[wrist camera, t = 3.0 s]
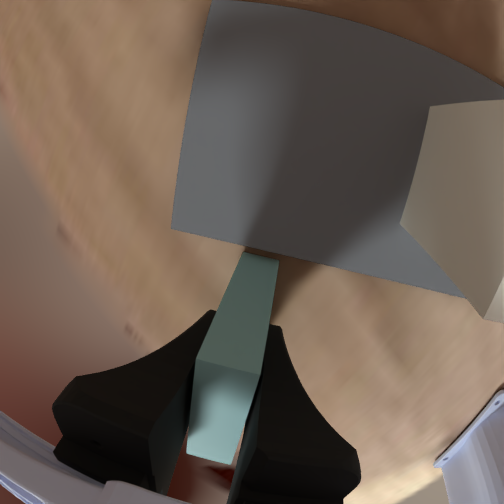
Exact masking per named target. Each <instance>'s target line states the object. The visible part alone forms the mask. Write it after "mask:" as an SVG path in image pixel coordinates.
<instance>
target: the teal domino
mask: <svg viewBox="0 0 504 504" xmlns="http://www.w3.org/2000/svg"><path fill="white" fill-rule="evenodd" d="M278 266H279V260H276V259H272V258H268V257H263V256H259V255H255V254H251V253H246V252H243V253H242V256H241V258H240V260H239V262H238V265H237V267H236V269H235V271H234V274H233V276H232V278H231V280H230V283H229V285H228V287H227V289H226V292H225V294H224V296H223V298H222V301H221V303H220V305H219V307H218V310H217V312H216V314H215V316H214V319H213V321H212V323H211V325H210V328H209V330H208V332H207V335H206V337H205V339H204V341H203V344H202V346H201V348H200V350H199V353H198V355H197V357H196V362H195V371H194V380H193V390H192V399H191V409H190V420H189V431H188V442H187V453H188V454H191V455H194V456H198V457H202V458H205V459H209V460H213V461H217V462H221V463H225V464H230V465H231V462H232V459H233V457H234V454H235V451H236V448H237V445H238V442H239V439H240V436H241V433H242V430H243V427H244V424H245V421H246V418H247V415H248V412H249V409H250V406H251V403H252V399H253V396H254V393H255V390H256V387H257V384H258V381H259V377H260V374H261V368H262V362H263V357H264V351H265V345H266V339H267V334H268V328H269V322H270V316H271V310H272V304H273V298H274V291H275V285H276V279H277V272H278Z"/></svg>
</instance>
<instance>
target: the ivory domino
mask: <svg viewBox="0 0 504 504" xmlns="http://www.w3.org/2000/svg"><path fill="white" fill-rule="evenodd" d="M400 225H401V226H402V227H403V228H404V229H405V230H406V231H407V232H408V233H409V234H410V235H411V236H412V237H413V238H414V239H415V240H416V241H417V242H418V243H419V244H420V245H421V246H422V248H423V249H424V250H425V251H426V252H427V253H428V254H429V255H430V256H431V257H432V258H433V260H434V261H435V262H436V263H437V264H438V265H439V266H440V267H441V269H442V270H443V271H444V272H445V273H446V274H447V275H448V277H449V278H450V279H451V280H452V281H453V282H454V284H455V285H456V286H457V287H458V288H459V290H460V291H461V292H462V293H463V294H464V296H465V297H466V298H467V299H468V301H469V302H470V303H471V304H472V306H473V307H474V308H475V309H476V311H477V312H478V313H479V315H480V316H481V317H482V318H483V319H485V320H490V321H495V322H500V323H504V100H488V101H475V102H464V103H454V104H445V105H437V106H430V109H429V114H428V119H427V124H426V128H425V133H424V137H423V142H422V146H421V150H420V154H419V158H418V162H417V166H416V170H415V174H414V177H413V181H412V185H411V188H410V192H409V195H408V198H407V202H406V205H405V208H404V212H403V215H402V218H401V221H400Z"/></svg>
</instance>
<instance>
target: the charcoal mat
mask: <svg viewBox="0 0 504 504" xmlns="http://www.w3.org/2000/svg"><path fill="white" fill-rule="evenodd" d="M488 100H504V87H502V86H500V85H499V84H497V83H495V82H494V81H492V80H490V79H489V78H487V77H485V76H484V75H482V74H480V73H478V72H476V71H475V70H473V69H471V68H469V67H467V66H465V65H463V64H461V63H459V62H457V61H455V60H453V59H451V58H449V57H447V56H445V55H443V54H441V53H439V52H436V51H434V50H432V49H430V48H427V47H425V46H423V45H420V44H418V43H415V42H413V41H410V40H408V39H405V38H403V37H400V36H397V35H394V34H392V33H389V32H386V31H383V30H380V29H377V28H374V27H371V26H367V25H364V24H361V23H357V22H354V21H350V20H347V19H343V18H339V17H335V16H331V15H326V14H322V13H318V12H313V11H308V10H303V9H297V8H291V7H285V6H279V5H272V4H264V3H255V2H245V1H233V0H212V3H211V6H210V10H209V14H208V18H207V22H206V26H205V30H204V34H203V38H202V43H201V47H200V51H199V56H198V60H197V65H196V70H195V75H194V79H193V84H192V90H191V95H190V100H189V105H188V111H187V116H186V122H185V128H184V134H183V140H182V147H181V153H180V160H179V167H178V174H177V181H176V189H175V197H174V205H173V214H172V223H171V229H174V230H178V231H183V232H187V233H191V234H196V235H200V236H204V237H209V238H213V239H217V240H221V241H226V242H230V243H234V244H239V245H243V246H247V247H251V248H256V249H260V250H264V251H268V252H273V253H277V254H281V255H285V256H290V257H294V258H298V259H302V260H307V261H311V262H315V263H319V264H324V265H328V266H332V267H336V268H340V269H345V270H349V271H353V272H357V273H361V274H366V275H370V276H374V277H378V278H382V279H387V280H391V281H395V282H399V283H403V284H407V285H412V286H416V287H420V288H424V289H428V290H432V291H437V292H441V293H445V294H449V295H453V296H457V297H461V298H466V297H465V296H464V294H463V293H462V292H461V291H460V290H459V288H458V287H457V286H456V285H455V284H454V282H453V281H452V280H451V279H450V278H449V277H448V275H447V274H446V273H445V272H444V271H443V270H442V269H441V267H440V266H439V265H438V264H437V263H436V262H435V261H434V260H433V258H432V257H431V256H430V255H429V254H428V253H427V252H426V251H425V250H424V249H423V248H422V246H421V245H420V244H419V243H418V242H417V241H416V240H415V239H414V238H413V237H412V236H411V235H410V234H409V233H408V232H407V231H406V230H405V229H404V228H403V227H402V226H401V225H400V221H401V218H402V215H403V212H404V208H405V205H406V202H407V198H408V195H409V192H410V188H411V185H412V181H413V177H414V174H415V170H416V166H417V162H418V158H419V154H420V150H421V146H422V142H423V137H424V133H425V128H426V124H427V119H428V114H429V109H430V106H437V105H445V104H454V103H464V102H475V101H488ZM466 299H467V298H466Z"/></svg>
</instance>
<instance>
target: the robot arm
mask: <svg viewBox="0 0 504 504" xmlns="http://www.w3.org/2000/svg"><path fill="white" fill-rule="evenodd" d="M216 312H217V311H214V310H209V311H207V312H206V313H205V314H204V315H203V316H202V317H201V318H200V319H199V320H198V321H197V322H196V323H194V324H193V325H192V326H191V327H190V328H188V329H187V330H186V331H185V332H183V333H182V334H181V335H179V336H178V337H176V338H175V339H174V340H172V341H171V342H169V343H168V344H166V345H165V346H163V347H161V348H160V349H158V350H156V351H154V352H152V353H151V354H149V355H147V356H145V357H142V358H140V359H138V360H136V361H134V362H131V363H129V364H126V365H123V366H120V367H117V368H114V369H110V370H107V371H103V372H99V373H93V374H88V375H83V376H76V377H75V378H74V379H73V380H72V381H71V382H70V383H69V384H68V385H67V386H66V387H65V389H64V390H63V391H62V393H61V394H60V395H59V396H58V398H57V399H56V400H55V402H54V403H53V406H52V410H53V414H54V417H55V419H56V421H57V424H58V426H59V428H60V430H61V432H62V434H63V437H62V438H61V440H60V441H59V443H58V444H57V446H56V447H55V446H53V445H51V444H49V443H48V442H46V441H44V440H43V439H41V438H40V437H38V436H36V435H35V434H33V433H32V432H30V431H29V430H27V429H26V428H24V427H22V426H21V425H20V424H18V423H17V422H15V421H14V420H12V419H11V418H10V417H8V416H7V415H6V414H4V413H3V412H1V411H0V484H1V485H2V486H3V487H5V488H6V489H7V490H9V491H10V492H11V493H13V494H14V495H15V496H16V497H18V498H19V499H20V500H22V501H23V502H24V503H26V504H191V503H187V502H184V501H180V500H177V499H173V498H170V497H167V496H166V495H167V492H168V488H169V485H170V482H171V478H172V475H173V472H174V469H175V466H176V463H177V459H178V456H179V453H180V450H181V447H182V444H183V441H184V438H185V435H186V431H187V428H188V426H189V420H190V409H191V399H192V390H193V380H194V371H195V362H196V357H197V355H198V353H199V350H200V348H201V346H202V344H203V341H204V339H205V337H206V335H207V332H208V330H209V328H210V325H211V323H212V321H213V319H214V316H215V314H216ZM433 466H434V468H440V467H441V468H442V472H443V477H444V481H445V485H446V489H447V494H448V499H449V504H504V390H500V391H499V392H497V393H496V394H495V396H494V397H493V398H492V400H491V401H490V402H489V403H488V405H487V406H486V407H485V408H484V410H483V411H482V412H481V413H480V414H479V416H478V417H477V418H476V419H475V420H474V421H473V423H472V424H471V425H470V426H469V427H468V428H467V429H466V430H465V431H464V433H463V434H462V435H461V436H460V437H459V438H458V439H457V440H456V441H455V442H454V443H453V444H452V445H451V446H450V447H449V448H448V449H447V450H446V451H445V452H444V453H443V454H442V455H441V456H440V457H439V458H438V459H437V460H436V461H435V462H434V463H433ZM360 481H361V469H360V463H359V459H358V455H357V451H356V449H355V448H354V447H352V446H351V445H350V444H349V443H348V442H347V441H346V440H345V439H343V438H342V437H341V436H340V435H339V434H338V433H337V432H336V431H335V430H334V429H333V428H332V427H331V426H330V424H329V423H328V422H327V421H326V420H325V418H324V417H323V416H322V415H321V413H320V412H319V411H318V410H317V408H316V407H315V405H314V404H313V402H312V401H311V399H310V398H309V396H308V394H307V393H306V391H305V389H304V388H303V386H302V384H301V382H300V380H299V378H298V376H297V374H296V371H295V369H294V367H293V364H292V362H291V359H290V356H289V354H288V351H287V348H286V344H285V341H284V337H283V332H282V329H281V327H280V326H276V325H272V324H269V328H268V334H267V339H266V345H265V351H264V357H263V362H262V368H261V374H260V377H259V381H258V384H257V387H256V390H255V393H254V396H253V399H252V403H251V406H250V409H249V412H248V415H247V418H246V421H245V428H244V434H243V439H242V443H241V448H240V452H239V456H238V460H237V465H236V469H235V473H234V477H233V481H232V485H231V489H230V493H229V496H228V501H227V504H343V498H344V497H346V496H347V495H348V494H349V493H350V492H351V491H352V490H354V489H355V488H356V487H357V486H358V484H359V483H360Z"/></svg>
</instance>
